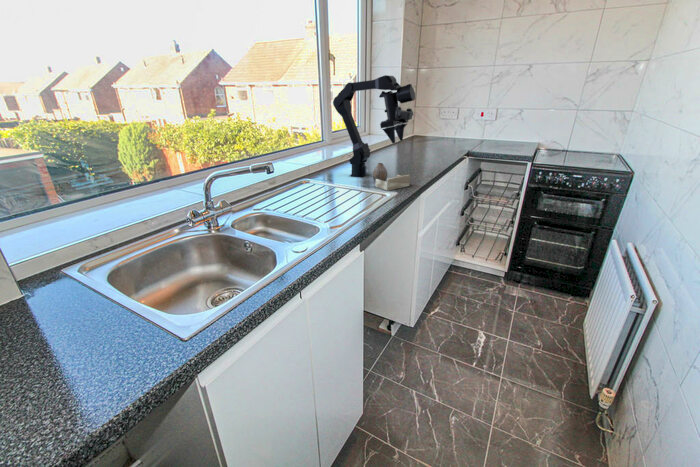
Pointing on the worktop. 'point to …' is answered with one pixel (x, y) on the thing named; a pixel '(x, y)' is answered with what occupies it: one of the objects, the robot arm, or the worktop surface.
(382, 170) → the vase
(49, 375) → the worktop surface
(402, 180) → the shoe shelf
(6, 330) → the worktop surface
